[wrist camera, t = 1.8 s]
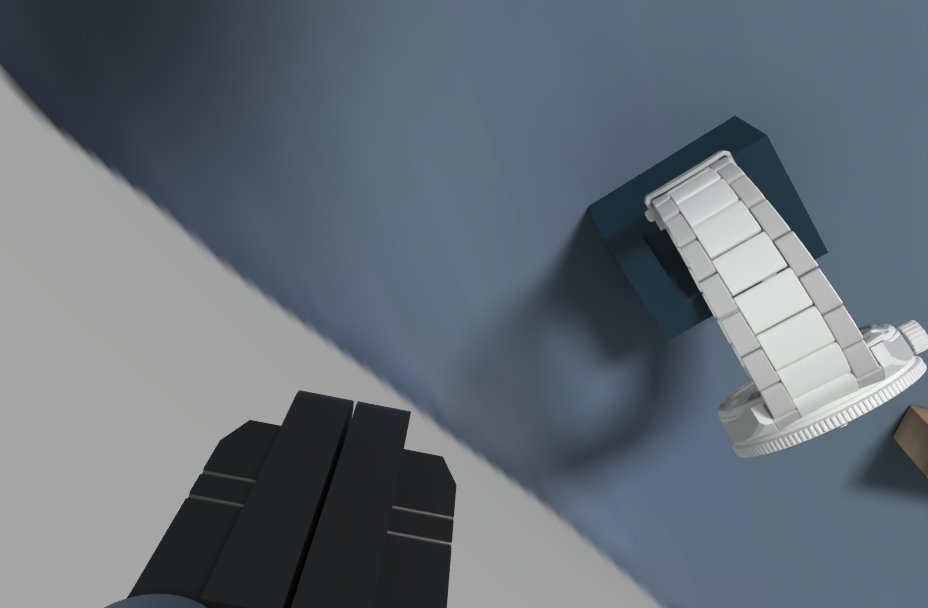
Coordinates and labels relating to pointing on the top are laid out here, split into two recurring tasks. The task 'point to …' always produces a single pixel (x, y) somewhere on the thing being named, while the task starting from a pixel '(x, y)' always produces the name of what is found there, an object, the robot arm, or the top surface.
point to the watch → (753, 289)
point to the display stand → (915, 436)
